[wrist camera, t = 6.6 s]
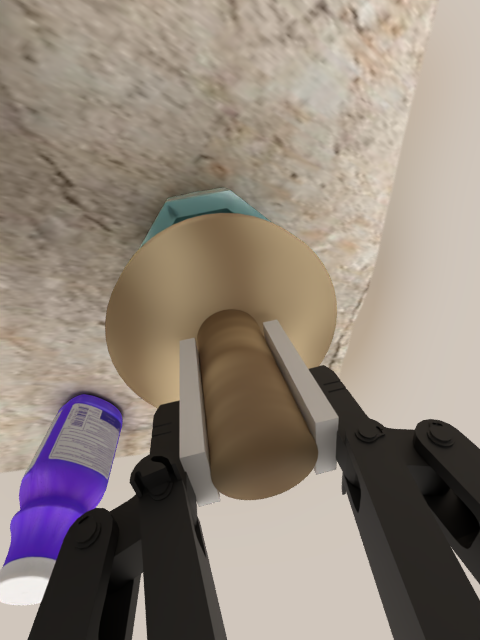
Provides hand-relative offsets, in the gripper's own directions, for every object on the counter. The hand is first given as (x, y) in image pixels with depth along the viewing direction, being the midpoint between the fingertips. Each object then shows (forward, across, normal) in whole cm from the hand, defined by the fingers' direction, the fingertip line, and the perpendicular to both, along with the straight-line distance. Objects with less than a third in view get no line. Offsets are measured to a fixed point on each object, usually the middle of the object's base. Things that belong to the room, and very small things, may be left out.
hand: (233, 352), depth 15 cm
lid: (+3, 0, 0) cm, 3 cm away
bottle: (+16, -17, -16) cm, 29 cm away
